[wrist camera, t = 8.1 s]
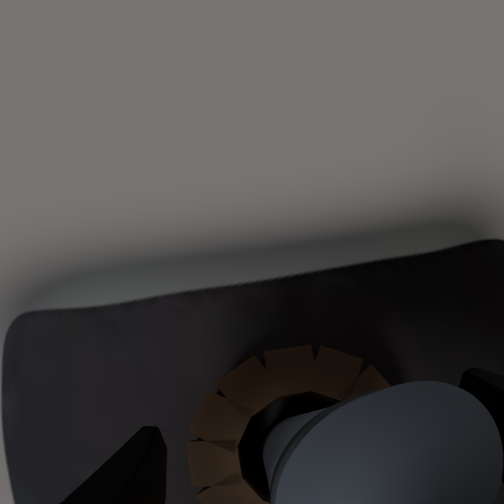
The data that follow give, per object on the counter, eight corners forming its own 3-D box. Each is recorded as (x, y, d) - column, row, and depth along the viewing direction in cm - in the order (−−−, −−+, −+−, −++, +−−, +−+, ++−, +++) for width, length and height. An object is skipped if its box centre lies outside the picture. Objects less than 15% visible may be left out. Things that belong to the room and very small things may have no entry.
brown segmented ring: (346, 546, 10) (359, 562, 8) (168, 490, 12) (154, 499, 10) (409, 387, 15) (431, 379, 12) (244, 331, 17) (243, 316, 15)
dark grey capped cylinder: (340, 468, 13) (513, 520, 2) (270, 488, 12) (306, 627, 1) (323, 406, 14) (474, 341, 4) (253, 425, 14) (243, 427, 3)
